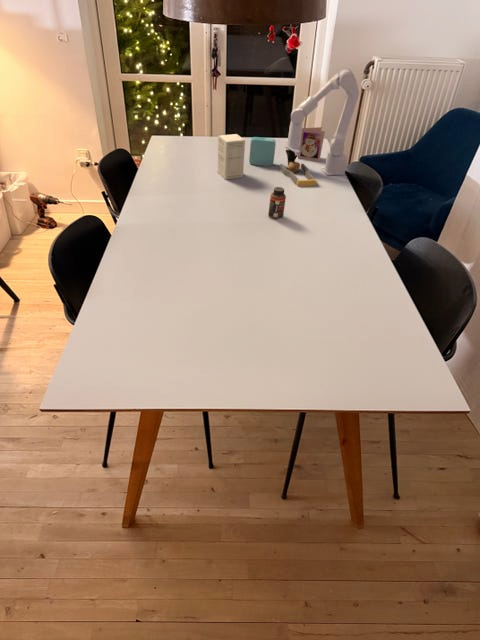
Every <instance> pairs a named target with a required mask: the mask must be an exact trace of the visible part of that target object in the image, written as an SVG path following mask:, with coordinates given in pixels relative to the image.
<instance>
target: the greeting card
mask: <svg viewBox="0 0 480 640" xmlns="http://www.w3.org/2000/svg"><path fill="white" fill-rule="evenodd" d="M325 133H326V131H325V130H322V127H321V126H320V127H302V130H301V137H300V144H299V149H300V156H297V160H298V159H299V160H305V161H312V162H318V163H319V162H320V161H321V156H322V150H323V144H324V140H325Z"/></svg>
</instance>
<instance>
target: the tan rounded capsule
mask: <svg viewBox="0 0 480 640" xmlns="http://www.w3.org/2000/svg"><path fill="white" fill-rule="evenodd" d="M300 169H301V163H300V162H297V161H295V162H290V163H289V165H288V169H287V170H289V171H291V172H293V173H294V175H298V174H299V172H300Z"/></svg>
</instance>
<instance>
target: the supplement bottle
mask: <svg viewBox="0 0 480 640" xmlns="http://www.w3.org/2000/svg"><path fill="white" fill-rule="evenodd" d="M269 197H270V199H269V207H268V213H267V214H268V217H269V218H271V219H274V220H281V219H282V218H283V217H284V213H285V205H286V199H287V196H286V194H285V188H283V187H281V186H275V187H273V192H271V194H270V196H269Z"/></svg>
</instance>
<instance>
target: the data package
mask: <svg viewBox="0 0 480 640" xmlns="http://www.w3.org/2000/svg"><path fill="white" fill-rule="evenodd" d="M275 154H276V139H275V138H272V137H259V136H253V137H251V138H250V146H249V156H248V157H249V158H248V159H249V160H248V162H249V164H250V165H254V166H262V165H263V166H262V167H264V166H266V167H272V166H273V165H274V161H275Z"/></svg>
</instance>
